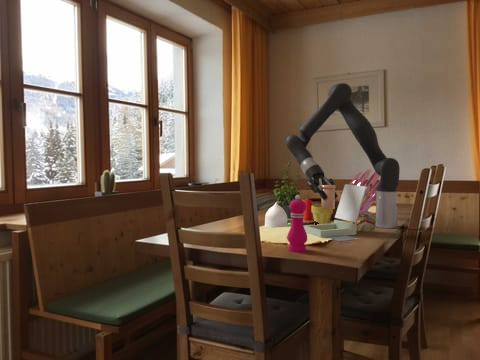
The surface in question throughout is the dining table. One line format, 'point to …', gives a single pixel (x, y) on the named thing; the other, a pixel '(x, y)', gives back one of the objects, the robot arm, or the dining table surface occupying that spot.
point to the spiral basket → (367, 189)
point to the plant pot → (321, 214)
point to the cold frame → (342, 214)
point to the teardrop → (276, 217)
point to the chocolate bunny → (368, 222)
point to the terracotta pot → (328, 197)
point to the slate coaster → (342, 238)
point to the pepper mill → (297, 226)
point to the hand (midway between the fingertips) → (331, 198)
